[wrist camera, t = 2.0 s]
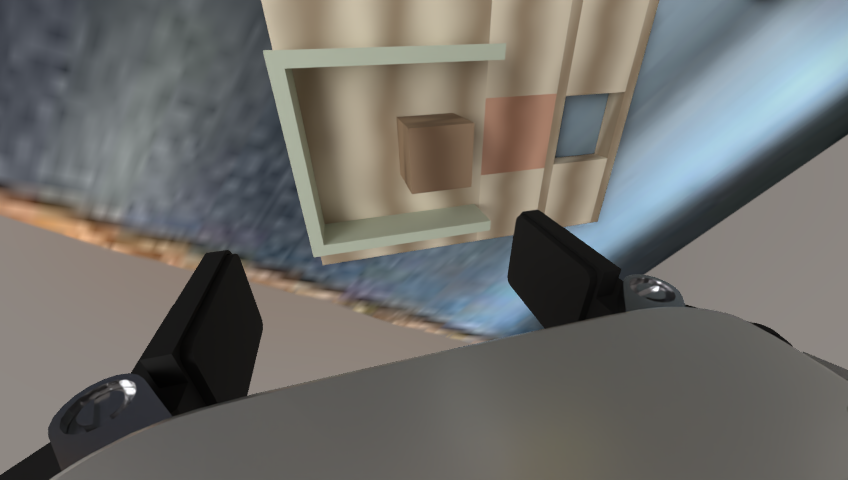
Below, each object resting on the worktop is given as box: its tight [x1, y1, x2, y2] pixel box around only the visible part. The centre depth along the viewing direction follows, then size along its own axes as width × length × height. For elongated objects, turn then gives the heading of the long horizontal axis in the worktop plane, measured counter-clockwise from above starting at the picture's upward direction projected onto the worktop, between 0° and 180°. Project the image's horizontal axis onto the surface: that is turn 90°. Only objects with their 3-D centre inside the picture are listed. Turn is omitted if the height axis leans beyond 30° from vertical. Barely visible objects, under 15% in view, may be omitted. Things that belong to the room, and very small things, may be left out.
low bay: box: [263, 43, 506, 257], centre depth 26 cm, size 16×15×4 cm
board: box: [261, 0, 659, 265], centre depth 30 cm, size 32×22×2 cm
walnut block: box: [396, 113, 475, 194], centre depth 26 cm, size 5×5×5 cm
